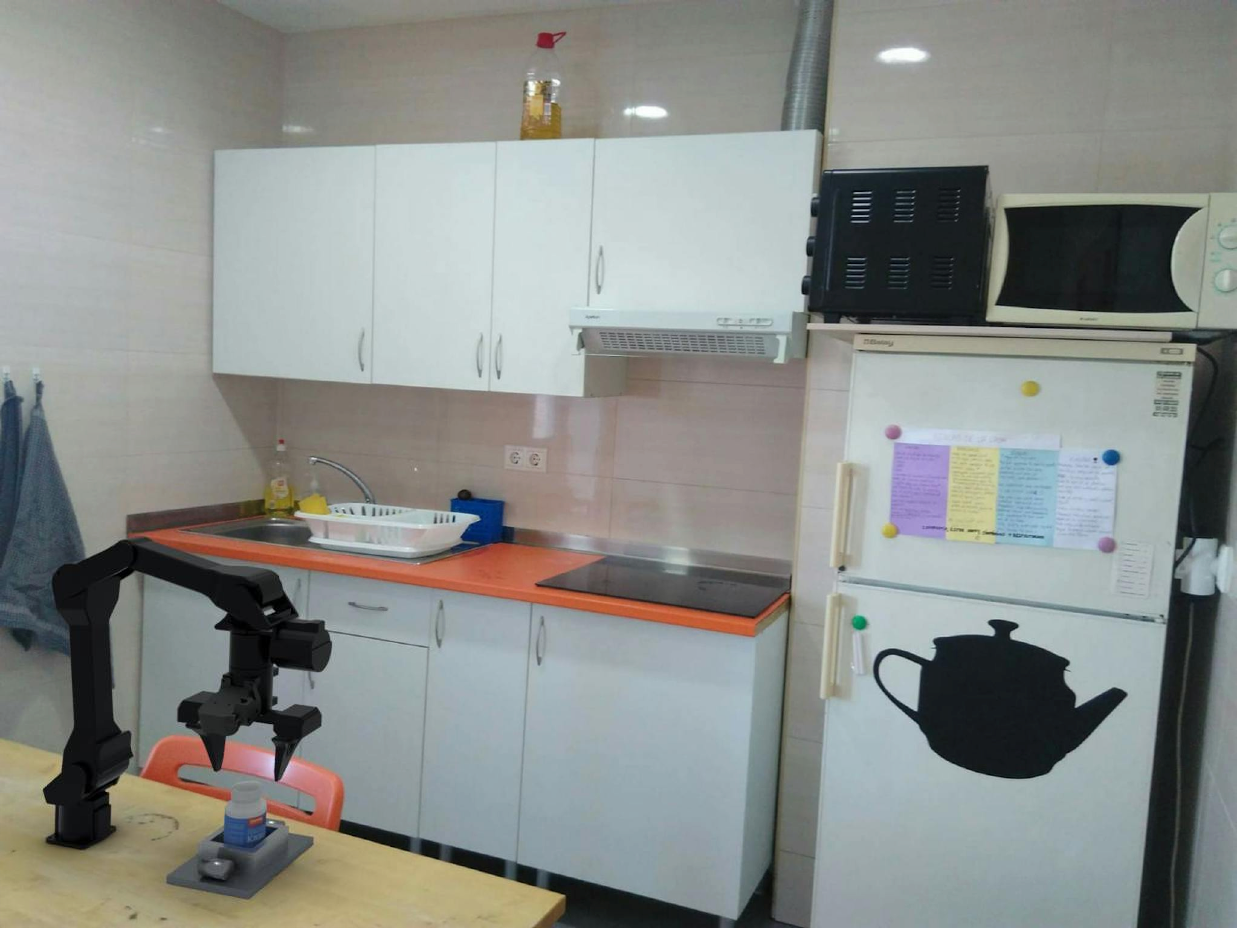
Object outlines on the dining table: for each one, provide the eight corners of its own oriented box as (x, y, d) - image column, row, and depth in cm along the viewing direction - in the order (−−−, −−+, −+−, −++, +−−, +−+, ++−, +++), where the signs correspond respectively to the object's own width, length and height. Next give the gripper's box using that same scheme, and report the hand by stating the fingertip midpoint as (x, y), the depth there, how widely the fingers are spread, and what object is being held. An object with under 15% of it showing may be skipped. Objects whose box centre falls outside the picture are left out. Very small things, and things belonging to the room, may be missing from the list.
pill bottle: (250, 867, 130) (253, 796, 129) (214, 861, 131) (216, 791, 130) (272, 849, 135) (275, 781, 134) (237, 843, 136) (240, 775, 135)
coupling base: (166, 882, 126) (167, 853, 126) (239, 830, 142) (240, 803, 142) (248, 898, 124) (249, 868, 124) (313, 843, 139) (314, 816, 139)
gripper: (150, 671, 125) (147, 788, 126) (280, 689, 121) (276, 810, 122) (204, 649, 136) (201, 758, 137) (325, 665, 132) (321, 777, 133)
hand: (247, 775), depth 132 cm, fingers open, 9 cm apart
